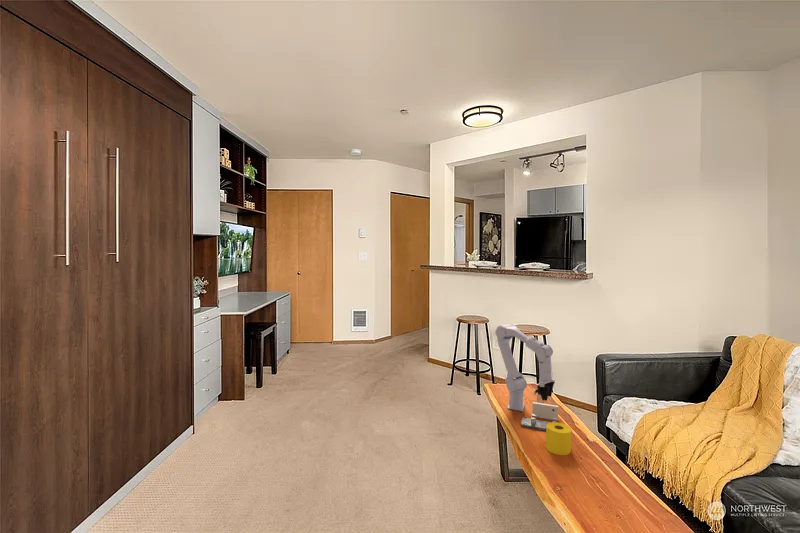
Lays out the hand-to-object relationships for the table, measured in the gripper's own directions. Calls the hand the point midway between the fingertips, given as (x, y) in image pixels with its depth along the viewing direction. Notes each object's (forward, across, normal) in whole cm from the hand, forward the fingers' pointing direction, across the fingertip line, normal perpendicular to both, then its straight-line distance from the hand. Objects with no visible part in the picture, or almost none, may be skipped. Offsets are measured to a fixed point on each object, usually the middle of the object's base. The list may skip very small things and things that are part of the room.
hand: (546, 398), depth 197 cm
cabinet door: (+11, +4, +3) cm, 12 cm away
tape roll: (+14, -24, -10) cm, 30 cm away
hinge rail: (+12, -7, 0) cm, 14 cm away
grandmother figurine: (+10, +18, +9) cm, 22 cm away
